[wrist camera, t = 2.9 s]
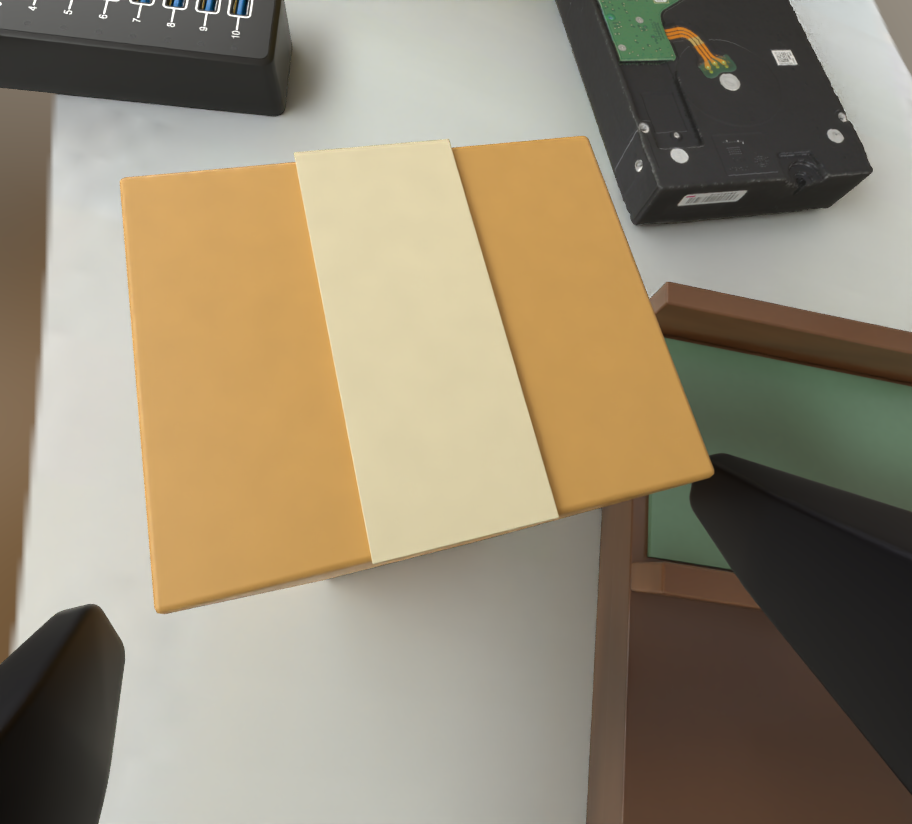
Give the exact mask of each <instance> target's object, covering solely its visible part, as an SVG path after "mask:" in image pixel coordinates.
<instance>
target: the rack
mask: <svg viewBox="0 0 912 824" xmlns="http://www.w3.org/2000/svg"><path fill="white" fill-rule="evenodd" d="M649 300H650V302H651V305H652V308H653V310H654V313H655V315H656V318H657V321H658V323H659V326H660V329H661V331H662V334H663V336H664V339H665V342H666V344H667V347H668V350H669V352H670V355H671V357H672V360H673V363H674V365H675V368H676V371H677V373H678V376H679V379H680V381H681V384H682V386H683V389H684V392H685V394H686V397H687V400H688V402H689V405H690V407H691V410H692V413H693V415H694V418H695V421H696V423H697V426H698V428H699V431H700V434H701V436H702V439H703V442H704V444H705V447H706V450H707V452H708V455H713V454H717V453H726V454H730V455H733V456H736V457H740V458H743V459H746V460H749V461H752V462H755V463H759V464H762V465H765V466H768V467H771V468H775V469H778V470H781V471H784V472H787V473H790V474H794V475H797V476H800V477H803V478H806V479H809V480H813V481H816V482H819V483H822V484H825V485H829V486H832V487H835V488H838V489H841V490H844V491H848V492H851V493H854V494H857V495H860V496H864V497H867V498H870V499H873V500H876V501H879V502H883V503H886V504H889V505H892V506H895V507H899V508H902V509H905V510H908V511H911V512H912V332H907V331H903V330H898V329H893V328H888V327H883V326H879V325H874V324H869V323H864V322H859V321H855V320H850V319H845V318H840V317H836V316H831V315H826V314H821V313H816V312H812V311H807V310H802V309H797V308H792V307H788V306H783V305H778V304H773V303H768V302H764V301H759V300H754V299H749V298H744V297H740V296H735V295H730V294H725V293H721V292H716V291H711V290H706V289H701V288H697V287H692V286H687V285H682V284H677V283H673V282H666V283H665V284H664V285H663V286H662V287H661V288H660V289H659V290H658V291H657V292H656V293H655V294H654V295H653V296H652V297H651V298H650V299H649ZM691 485H692V483H689V484H686V485H682V486H678V487H675V488H671V489H668V490H664V491H660V492H657V493H653V494H649V495H646V496H642V497H638V498H635V499H631V500H627V501H624V502H620V503H616V504H613V505H609V506H605V507H602V523H601V542H600V562H599V582H598V602H597V621H596V641H595V661H594V680H593V700H592V720H591V739H590V759H589V779H588V798H587V818H586V824H912V795H911V794H910V793H909V792H908V790H907V789H906V788H905V787H904V785H903V784H902V783H901V782H900V780H899V779H898V778H897V777H896V775H895V774H894V773H893V772H892V770H891V769H890V768H889V767H888V766H887V764H886V763H885V762H884V761H883V759H882V758H881V757H880V756H879V754H878V753H877V752H876V751H875V749H874V748H873V747H872V746H871V744H870V743H869V742H868V741H867V740H866V738H865V737H864V736H863V735H862V733H861V732H860V731H859V730H858V728H857V727H856V726H855V725H854V723H853V722H852V721H851V720H850V719H849V717H848V716H847V715H846V714H845V712H844V711H843V710H842V709H841V707H840V706H839V705H838V704H837V702H836V701H835V700H834V699H833V697H832V696H831V695H830V694H829V693H828V691H827V690H826V689H825V688H824V686H823V685H822V684H821V683H820V681H819V680H818V679H817V678H816V676H815V675H814V674H813V673H812V672H811V670H810V669H809V668H808V667H807V665H806V664H805V663H804V662H803V660H802V659H801V658H800V657H799V655H798V654H797V653H796V652H795V650H794V649H793V648H792V647H791V646H790V644H789V643H788V642H787V641H786V639H785V638H784V637H783V636H782V634H781V633H780V632H779V631H778V629H777V628H776V627H775V626H774V624H773V623H772V622H771V621H770V620H769V618H768V617H767V616H766V615H765V613H764V612H763V611H762V610H761V608H760V607H759V606H758V605H757V603H756V602H755V601H754V600H753V598H752V597H751V596H750V594H749V593H748V592H747V591H746V589H745V588H744V586H743V585H742V584H741V582H740V581H739V579H738V578H737V577H736V575H735V574H734V572H733V571H732V569H731V568H730V566H729V565H728V563H727V562H726V560H725V559H724V557H723V556H722V554H721V552H720V551H719V549H718V548H717V546H716V545H715V543H714V542H713V540H712V539H711V537H710V536H709V534H708V533H707V531H706V530H705V528H704V527H703V525H702V524H701V522H700V521H699V519H698V518H697V516H696V515H695V513H694V512H693V510H692V508H691V505H690V500H689V496H690V490H691Z"/></svg>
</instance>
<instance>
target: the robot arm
mask: <svg viewBox="0 0 912 824" xmlns="http://www.w3.org/2000/svg"><path fill="white" fill-rule="evenodd" d="M709 457H710V460H711V463H712V465H713V468H714V474H713V475H712V476H711V477H710V478H708V479H704V480H700V481H697V482H693V483H692V485H691V490H690V496H689V500H690V505H691V508H692V510H693V512H694V513H695V515H696V516H697V518H698V519H699V521H700V522H701V524H702V525H703V527H704V528H705V530H706V531H707V533H708V534H709V536H710V537H711V539H712V540H713V542H714V543H715V545H716V546H717V548H718V549H719V551H720V552H721V554H722V556H723V557H724V559H725V560H726V562H727V563H728V565H729V566H730V568H731V569H732V571H733V572H734V574H735V575H736V577H737V578H738V579H739V581H740V582H741V584H742V585H743V586H744V588H745V589H746V591H747V592H748V593H749V594H750V596H751V597H752V598H753V600H754V601H755V602H756V603H757V605H758V606H759V607H760V608H761V610H762V611H763V612H764V613H765V615H766V616H767V617H768V618H769V620H770V621H771V622H772V623H773V624H774V626H775V627H776V628H777V629H778V631H779V632H780V633H781V634H782V636H783V637H784V638H785V639H786V641H787V642H788V643H789V644H790V646H791V647H792V648H793V649H794V650H795V652H796V653H797V654H798V655H799V657H800V658H801V659H802V660H803V662H804V663H805V664H806V665H807V667H808V668H809V669H810V670H811V672H812V673H813V674H814V675H815V676H816V678H817V679H818V680H819V681H820V683H821V684H822V685H823V686H824V688H825V689H826V690H827V691H828V693H829V694H830V695H831V696H832V697H833V699H834V700H835V701H836V702H837V704H838V705H839V706H840V707H841V709H842V710H843V711H844V712H845V714H846V715H847V716H848V717H849V719H850V720H851V721H852V722H853V723H854V725H855V726H856V727H857V728H858V730H859V731H860V732H861V733H862V735H863V736H864V737H865V738H866V740H867V741H868V742H869V743H870V744H871V746H872V747H873V748H874V749H875V751H876V752H877V753H878V754H879V756H880V757H881V758H882V759H883V761H884V762H885V763H886V764H887V766H888V767H889V768H890V769H891V770H892V772H893V773H894V774H895V775H896V777H897V778H898V779H899V780H900V782H901V783H902V784H903V785H904V787H905V788H906V789H907V790H908V792H909V793H910V794H911V795H912V512H911V511H908V510H905V509H902V508H899V507H895V506H892V505H889V504H886V503H883V502H879V501H876V500H873V499H870V498H867V497H864V496H860V495H857V494H854V493H851V492H848V491H844V490H841V489H838V488H835V487H832V486H829V485H825V484H822V483H819V482H816V481H813V480H809V479H806V478H803V477H800V476H797V475H794V474H790V473H787V472H784V471H781V470H778V469H775V468H771V467H768V466H765V465H762V464H759V463H755V462H752V461H749V460H746V459H743V458H740V457H736V456H733V455H730V454H726V453H717V454H713V455H709ZM124 664H125V650H124V646H123V643H122V641H121V639H120V637H119V636H118V634H117V633H116V631H115V629H114V628H113V626H112V625H111V623H110V621H109V620H108V618H107V617H106V615H105V613H104V612H103V610H102V609H101V608H100V607H99V606H97V605H95V604H87V605H83V606H79V607H75V608H71V609H66V610H63V611H61V612H58V613H57V614H55V615H54V616H53V617H51V618H50V619H49V620H48V621H47V622H46V623H45V624H44V625H43V626H42V627H40V628H39V629H38V630H37V631H36V632H35V633H34V634H33V635H32V636H31V637H30V638H28V639H27V640H26V641H25V642H24V643H23V644H22V645H21V646H20V647H19V648H18V649H16V650H15V651H14V652H13V653H12V654H11V655H10V656H9V657H8V658H7V659H6V660H4V661H3V662H2V663H1V664H0V824H98V823H99V819H100V814H101V810H102V806H103V802H104V797H105V793H106V788H107V784H108V778H109V772H110V766H111V760H112V752H113V745H114V738H115V730H116V723H117V715H118V708H119V701H120V693H121V686H122V679H123V671H124Z"/></svg>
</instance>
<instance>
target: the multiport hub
mask: <svg viewBox="0 0 912 824" xmlns="http://www.w3.org/2000/svg"><path fill="white" fill-rule="evenodd" d="M291 52H292V42H291V36H290V31H289V25H288V19H287V14H286V8H285V2H284V0H0V88H9V89H19V90H29V91H39V92H48V93H58V94H67V95H77V96H87V97H97V98H106V99H116V100H126V101H135V102H145V103H155V104H164V105H174V106H184V107H194V108H203V109H213V110H223V111H232V112H242V113H252V114H261V115H271V116H276V115H279V114H281V113H283V111H284V110H285V104H286V95H287V87H288V78H289V69H290V61H291Z"/></svg>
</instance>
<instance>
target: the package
mask: <svg viewBox="0 0 912 824" xmlns="http://www.w3.org/2000/svg"><path fill="white" fill-rule="evenodd" d="M294 157H295V162H291V163H280V164H269V165H258V166H247V167H236V168H225V169H214V170H203V171H192V172H181V173H170V174H159V175H148V176H137V177H126V178H123V179H121V181H120V191H121V203H122V216H123V228H124V240H125V252H126V265H127V277H128V289H129V301H130V314H131V326H132V338H133V351H134V363H135V375H136V387H137V400H138V412H139V424H140V436H141V449H142V461H143V473H144V485H145V498H146V510H147V522H148V534H149V547H150V559H151V571H152V583H153V596H154V608H155V610H156V612H157V613H160V614H168V613H172V612H177V611H182V610H186V609H191V608H196V607H200V606H205V605H210V604H214V603H219V602H224V601H228V600H233V599H238V598H242V597H247V596H251V595H256V594H261V593H265V592H270V591H275V590H279V589H284V588H289V587H293V586H298V585H303V584H307V583H312V582H317V581H321V580H326V579H330V578H334V577H338V576H342V575H346V574H350V573H354V572H358V571H362V570H366V569H370V568H373V567H377V566H381V565H385V564H389V563H393V562H397V561H401V560H405V559H409V558H413V557H417V556H421V555H425V554H429V553H433V552H437V551H441V550H445V549H449V548H453V547H457V546H461V545H465V544H469V543H473V542H477V541H481V540H485V539H488V538H492V537H496V536H499V535H503V534H507V533H510V532H514V531H518V530H521V529H525V528H529V527H532V526H536V525H540V524H543V523H547V522H551V521H554V520H558V519H561V518H565V517H569V516H572V515H576V514H580V513H583V512H587V511H591V510H594V509H598V508H602V507H605V506H609V505H613V504H616V503H620V502H624V501H627V500H631V499H635V498H638V497H642V496H646V495H649V494H653V493H657V492H660V491H664V490H668V489H671V488H675V487H678V486H682V485H686V484H689V483H693V482H697V481H700V480H704V479H708V478H710V477H711V476H712V475H713V474H714V468H713V465H712V463H711V460H710V457H709V455H708V452H707V450H706V447H705V444H704V442H703V439H702V436H701V434H700V431H699V428H698V426H697V423H696V421H695V418H694V415H693V413H692V410H691V407H690V405H689V402H688V400H687V397H686V394H685V392H684V389H683V386H682V384H681V381H680V379H679V376H678V373H677V371H676V368H675V365H674V363H673V360H672V357H671V355H670V352H669V350H668V347H667V344H666V342H665V339H664V336H663V334H662V331H661V329H660V326H659V323H658V321H657V318H656V315H655V313H654V310H653V308H652V305H651V302H650V300H649V297H648V294H647V292H646V289H645V286H644V284H643V281H642V279H641V276H640V273H639V271H638V268H637V265H636V263H635V260H634V258H633V255H632V252H631V250H630V247H629V244H628V242H627V239H626V237H625V234H624V231H623V229H622V226H621V223H620V221H619V218H618V216H617V213H616V210H615V208H614V205H613V202H612V200H611V197H610V194H609V192H608V189H607V187H606V184H605V181H604V179H603V176H602V173H601V171H600V168H599V166H598V163H597V160H596V158H595V155H594V152H593V150H592V147H591V145H590V142H589V139H588V138H587V137H585V136H577V137H566V138H555V139H544V140H533V141H522V142H511V143H500V144H489V145H478V146H467V147H456V148H451V145H450V141H449V139H443V140H431V141H420V142H408V143H397V144H386V145H374V146H363V147H351V148H340V149H328V150H317V151H305V152H294Z"/></svg>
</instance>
